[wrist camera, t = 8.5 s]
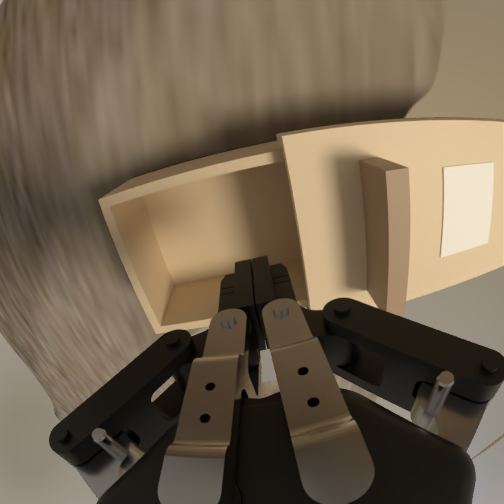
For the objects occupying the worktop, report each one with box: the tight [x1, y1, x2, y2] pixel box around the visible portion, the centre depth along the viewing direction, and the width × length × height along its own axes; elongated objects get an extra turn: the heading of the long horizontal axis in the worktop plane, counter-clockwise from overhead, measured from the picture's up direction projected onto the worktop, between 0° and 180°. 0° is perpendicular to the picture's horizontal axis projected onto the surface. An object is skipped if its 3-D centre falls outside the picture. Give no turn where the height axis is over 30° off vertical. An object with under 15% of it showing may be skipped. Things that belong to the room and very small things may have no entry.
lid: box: [276, 117, 504, 316], centre depth 15 cm, size 12×19×5 cm, turn 102°
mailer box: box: [98, 141, 309, 334], centre depth 19 cm, size 10×18×6 cm, turn 102°
